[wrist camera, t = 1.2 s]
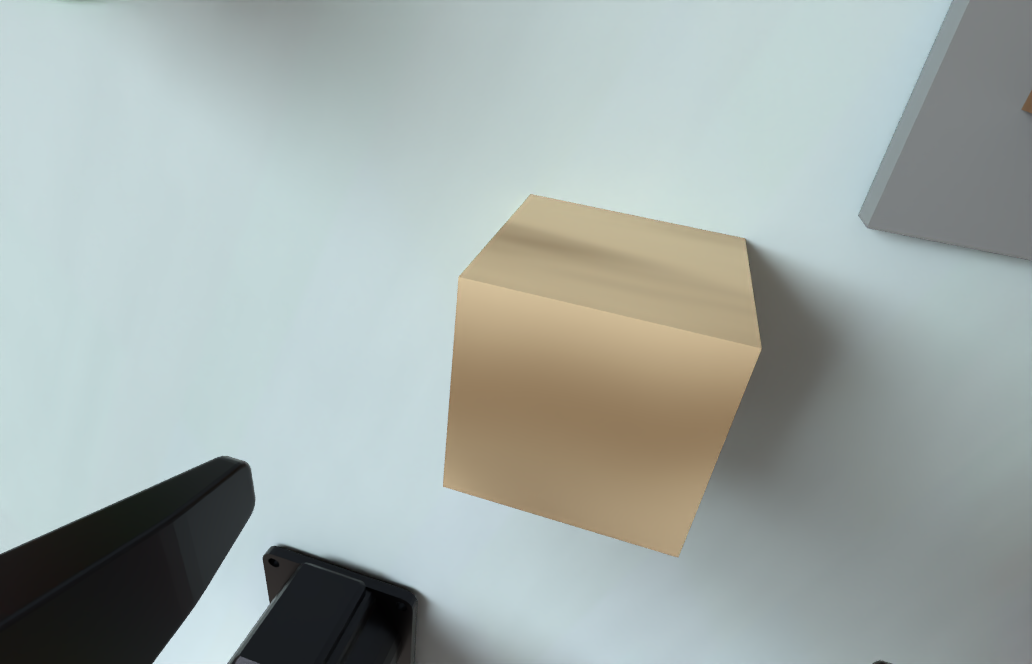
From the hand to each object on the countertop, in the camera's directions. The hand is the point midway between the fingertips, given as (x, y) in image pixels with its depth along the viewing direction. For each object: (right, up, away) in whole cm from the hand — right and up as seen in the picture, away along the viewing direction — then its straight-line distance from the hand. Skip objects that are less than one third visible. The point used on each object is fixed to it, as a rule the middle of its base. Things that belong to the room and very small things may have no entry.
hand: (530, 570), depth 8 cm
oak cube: (+2, +4, +7) cm, 8 cm away
